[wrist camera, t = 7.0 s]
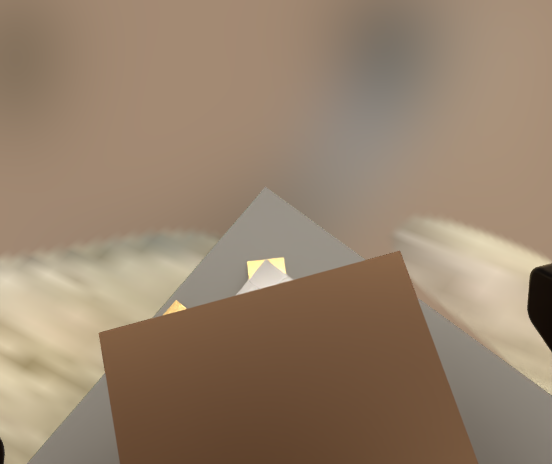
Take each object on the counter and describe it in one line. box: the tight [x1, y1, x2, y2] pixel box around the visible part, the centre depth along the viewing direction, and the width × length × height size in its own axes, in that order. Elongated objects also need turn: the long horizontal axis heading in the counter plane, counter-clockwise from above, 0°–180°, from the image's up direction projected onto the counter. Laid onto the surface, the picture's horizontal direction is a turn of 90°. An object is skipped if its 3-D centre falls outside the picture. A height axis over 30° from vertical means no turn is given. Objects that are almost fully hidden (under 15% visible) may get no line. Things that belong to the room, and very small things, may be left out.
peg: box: [99, 251, 478, 464], centre depth 11 cm, size 4×4×12 cm
